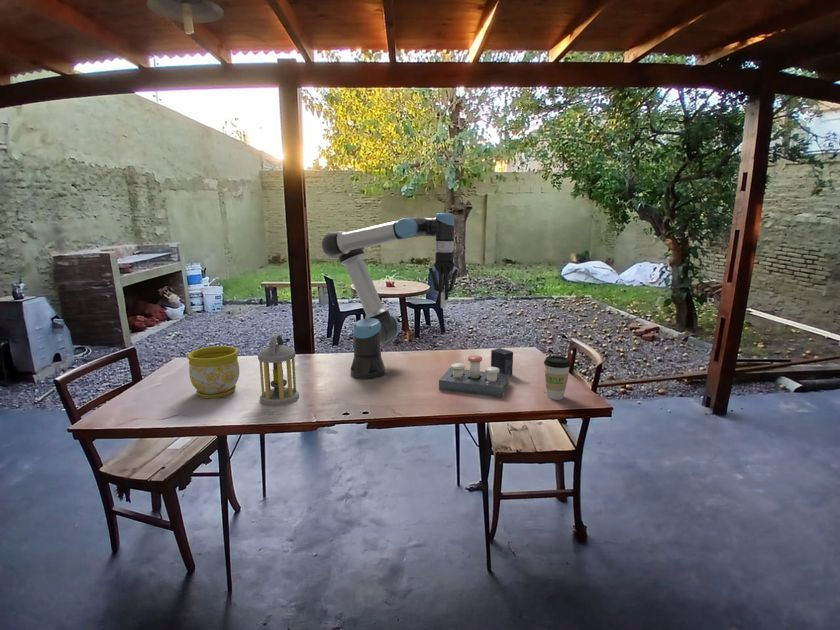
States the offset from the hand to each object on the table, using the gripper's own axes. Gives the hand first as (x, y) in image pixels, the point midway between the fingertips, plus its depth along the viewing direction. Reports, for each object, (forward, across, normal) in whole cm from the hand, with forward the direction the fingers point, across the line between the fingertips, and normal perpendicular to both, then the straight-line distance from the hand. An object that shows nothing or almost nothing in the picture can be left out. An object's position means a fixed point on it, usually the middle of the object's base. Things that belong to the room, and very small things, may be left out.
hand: (443, 307), depth 200 cm
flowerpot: (+31, -75, -53) cm, 97 cm away
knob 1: (+29, +10, -10) cm, 33 cm away
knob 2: (+29, +24, -10) cm, 39 cm away
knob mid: (+25, +17, -10) cm, 32 cm away
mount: (+29, +17, -10) cm, 36 cm away
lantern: (+30, -48, -49) cm, 75 cm away
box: (+30, +24, +9) cm, 39 cm away
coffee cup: (+29, +49, -9) cm, 58 cm away
